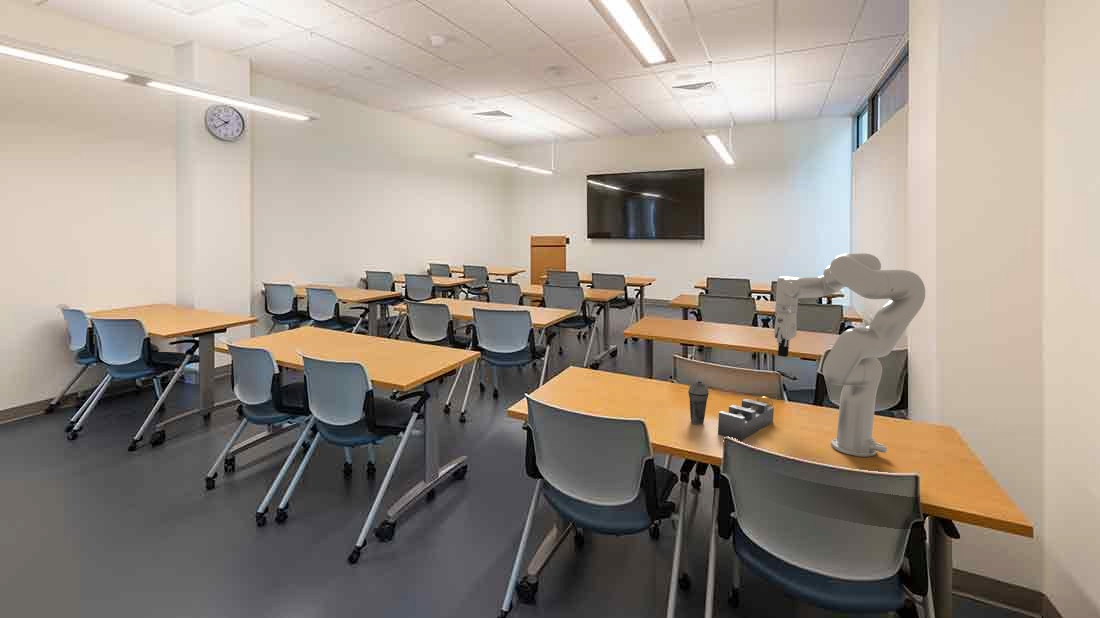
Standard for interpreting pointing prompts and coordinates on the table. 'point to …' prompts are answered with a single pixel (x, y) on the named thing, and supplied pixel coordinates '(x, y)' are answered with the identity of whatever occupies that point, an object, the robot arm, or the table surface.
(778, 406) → the table surface
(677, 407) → the table surface
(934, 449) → the table surface
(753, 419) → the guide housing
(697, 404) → the beverage cup
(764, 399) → the shaft
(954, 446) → the table surface
